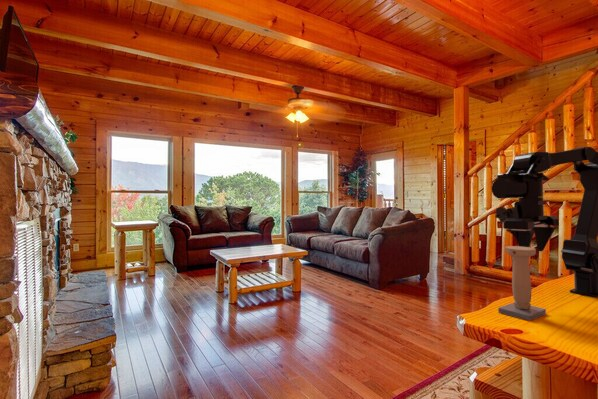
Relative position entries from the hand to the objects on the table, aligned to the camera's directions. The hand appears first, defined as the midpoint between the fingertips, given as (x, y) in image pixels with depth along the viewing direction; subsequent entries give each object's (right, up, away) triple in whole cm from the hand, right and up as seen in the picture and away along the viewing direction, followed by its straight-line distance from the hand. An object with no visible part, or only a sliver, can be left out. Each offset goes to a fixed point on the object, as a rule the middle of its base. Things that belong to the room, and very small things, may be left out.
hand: (532, 252), depth 92 cm
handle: (-10, -12, -10) cm, 19 cm away
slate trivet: (-10, -13, -11) cm, 20 cm away
